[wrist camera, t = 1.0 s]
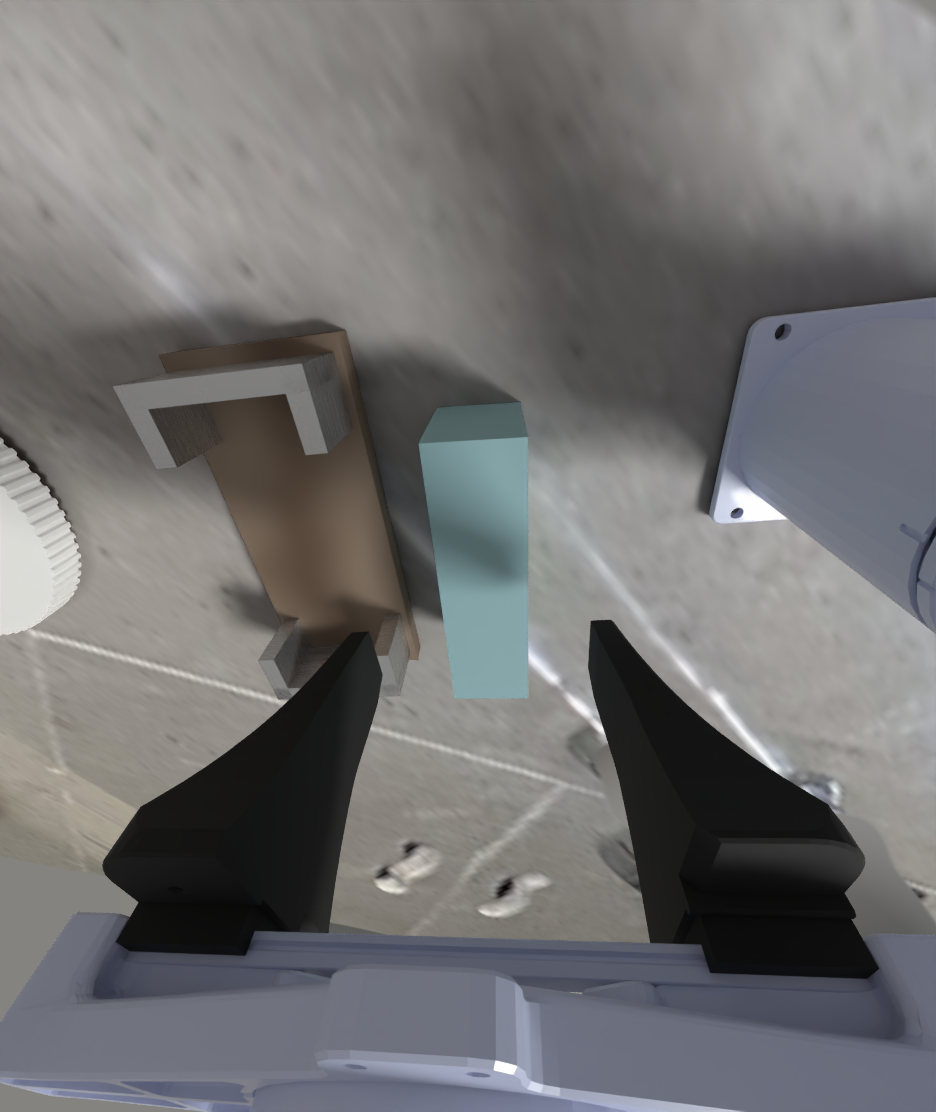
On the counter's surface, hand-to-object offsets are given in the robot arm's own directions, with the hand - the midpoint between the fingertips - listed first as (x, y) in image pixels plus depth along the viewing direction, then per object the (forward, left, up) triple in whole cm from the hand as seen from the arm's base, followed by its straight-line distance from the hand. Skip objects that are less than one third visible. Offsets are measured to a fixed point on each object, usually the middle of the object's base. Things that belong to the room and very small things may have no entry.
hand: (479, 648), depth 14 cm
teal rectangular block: (0, 0, -8) cm, 8 cm away
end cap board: (+8, -1, -8) cm, 11 cm away
